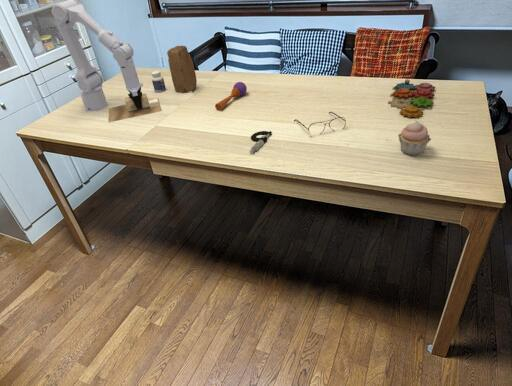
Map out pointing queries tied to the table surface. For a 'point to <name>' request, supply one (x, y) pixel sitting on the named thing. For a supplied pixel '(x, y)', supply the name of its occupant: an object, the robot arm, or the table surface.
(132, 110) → the sanding block
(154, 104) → the eraser
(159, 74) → the pill bottle
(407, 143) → the cupcake
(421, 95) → the gear puzzle
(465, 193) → the table surface
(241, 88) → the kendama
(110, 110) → the board
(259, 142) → the micrometer
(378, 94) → the table surface
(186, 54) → the block
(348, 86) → the table surface
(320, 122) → the glasses
